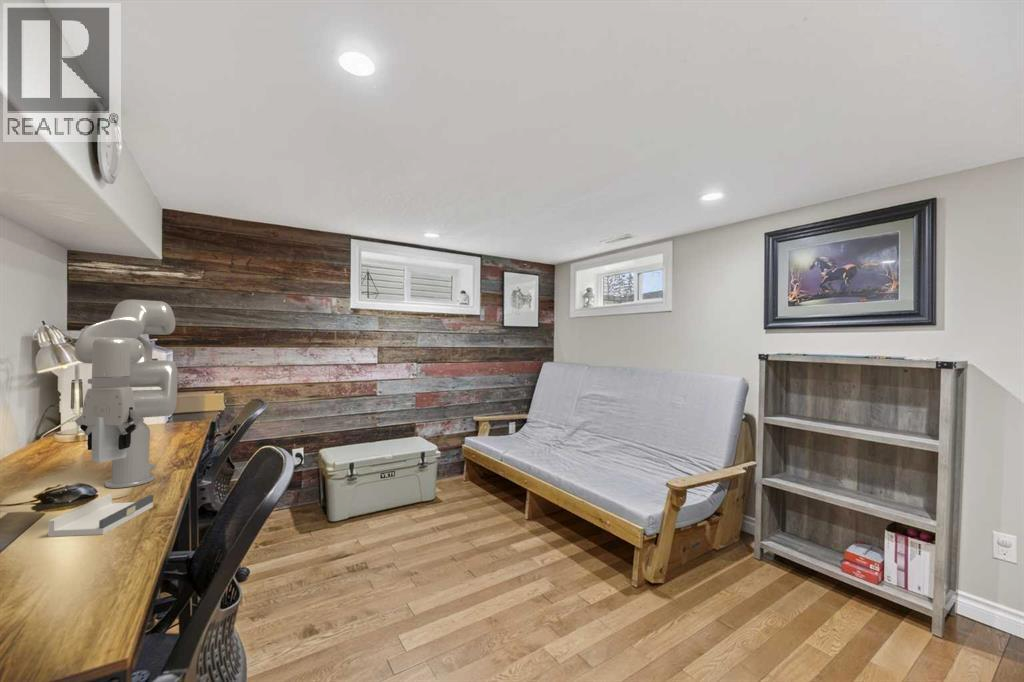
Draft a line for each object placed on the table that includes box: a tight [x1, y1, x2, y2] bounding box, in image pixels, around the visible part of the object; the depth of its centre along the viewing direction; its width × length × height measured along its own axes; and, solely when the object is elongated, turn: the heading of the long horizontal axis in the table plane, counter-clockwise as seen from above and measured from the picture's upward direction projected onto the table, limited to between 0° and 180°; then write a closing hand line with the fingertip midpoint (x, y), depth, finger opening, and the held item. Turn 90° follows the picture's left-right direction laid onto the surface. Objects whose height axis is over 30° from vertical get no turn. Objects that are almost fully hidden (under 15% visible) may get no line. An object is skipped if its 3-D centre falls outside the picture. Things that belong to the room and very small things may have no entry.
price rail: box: [99, 494, 154, 529], centre depth 114 cm, size 18×1×2 cm, turn 9°
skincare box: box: [91, 417, 127, 464], centre depth 114 cm, size 6×4×12 cm
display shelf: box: [47, 494, 154, 538], centre depth 114 cm, size 18×12×4 cm, turn 9°
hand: (109, 448), depth 114 cm, fingers closed on skincare box, 6 cm apart
